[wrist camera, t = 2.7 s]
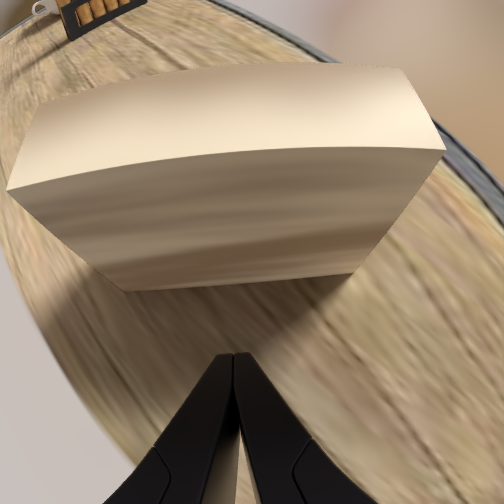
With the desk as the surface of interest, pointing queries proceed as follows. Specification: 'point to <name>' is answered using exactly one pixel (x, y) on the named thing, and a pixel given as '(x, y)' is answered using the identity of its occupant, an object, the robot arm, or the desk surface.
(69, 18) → the ammunition clip
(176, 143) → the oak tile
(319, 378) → the desk surface
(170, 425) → the robot arm
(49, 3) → the teacup
